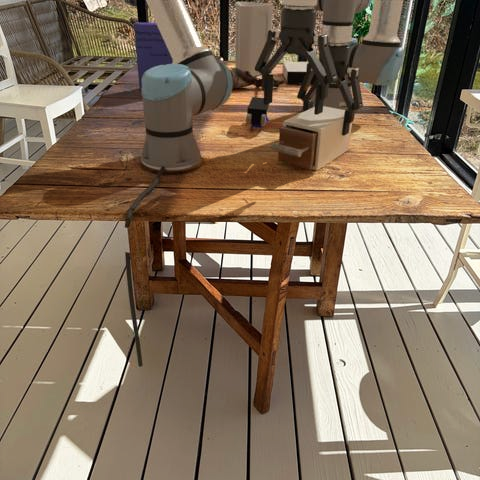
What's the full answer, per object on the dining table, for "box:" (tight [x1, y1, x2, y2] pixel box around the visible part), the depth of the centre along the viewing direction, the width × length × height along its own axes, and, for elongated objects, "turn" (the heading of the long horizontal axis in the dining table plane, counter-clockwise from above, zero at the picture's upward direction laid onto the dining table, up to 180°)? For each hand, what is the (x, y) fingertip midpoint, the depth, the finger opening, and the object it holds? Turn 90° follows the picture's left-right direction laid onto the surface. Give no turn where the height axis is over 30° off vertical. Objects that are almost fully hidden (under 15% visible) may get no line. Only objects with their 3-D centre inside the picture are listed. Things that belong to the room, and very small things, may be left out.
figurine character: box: [245, 96, 271, 132], centre depth 148 cm, size 7×8×15 cm
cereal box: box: [133, 21, 173, 91], centre depth 182 cm, size 17×5×24 cm, turn 86°
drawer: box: [269, 126, 318, 171], centre depth 122 cm, size 23×10×9 cm, turn 144°
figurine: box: [230, 66, 287, 89], centre depth 190 cm, size 24×8×30 cm
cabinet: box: [282, 106, 353, 171], centre depth 127 cm, size 19×11×11 cm, turn 144°
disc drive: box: [281, 61, 317, 85], centre depth 207 cm, size 18×22×5 cm
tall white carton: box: [234, 1, 274, 77], centre depth 210 cm, size 19×15×28 cm
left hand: (292, 108), depth 111 cm, fingers open, 13 cm apart
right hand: (325, 129), depth 130 cm, fingers closed on cabinet, 11 cm apart
